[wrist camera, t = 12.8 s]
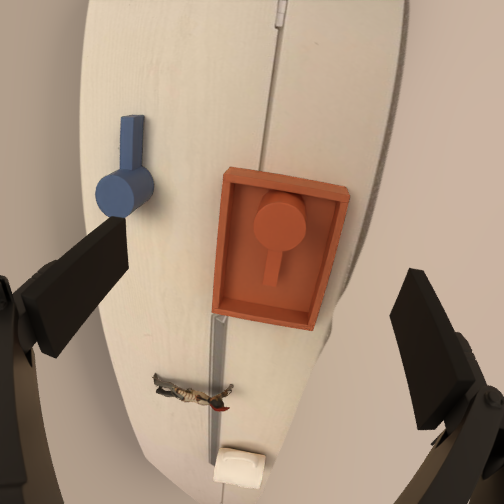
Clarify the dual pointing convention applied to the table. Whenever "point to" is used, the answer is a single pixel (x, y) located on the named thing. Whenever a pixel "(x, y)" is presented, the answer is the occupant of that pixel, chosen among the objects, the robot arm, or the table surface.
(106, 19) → the table surface
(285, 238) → the terracotta scoop
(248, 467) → the mug
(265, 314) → the tray
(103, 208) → the blue scoop
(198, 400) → the figurine
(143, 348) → the table surface
